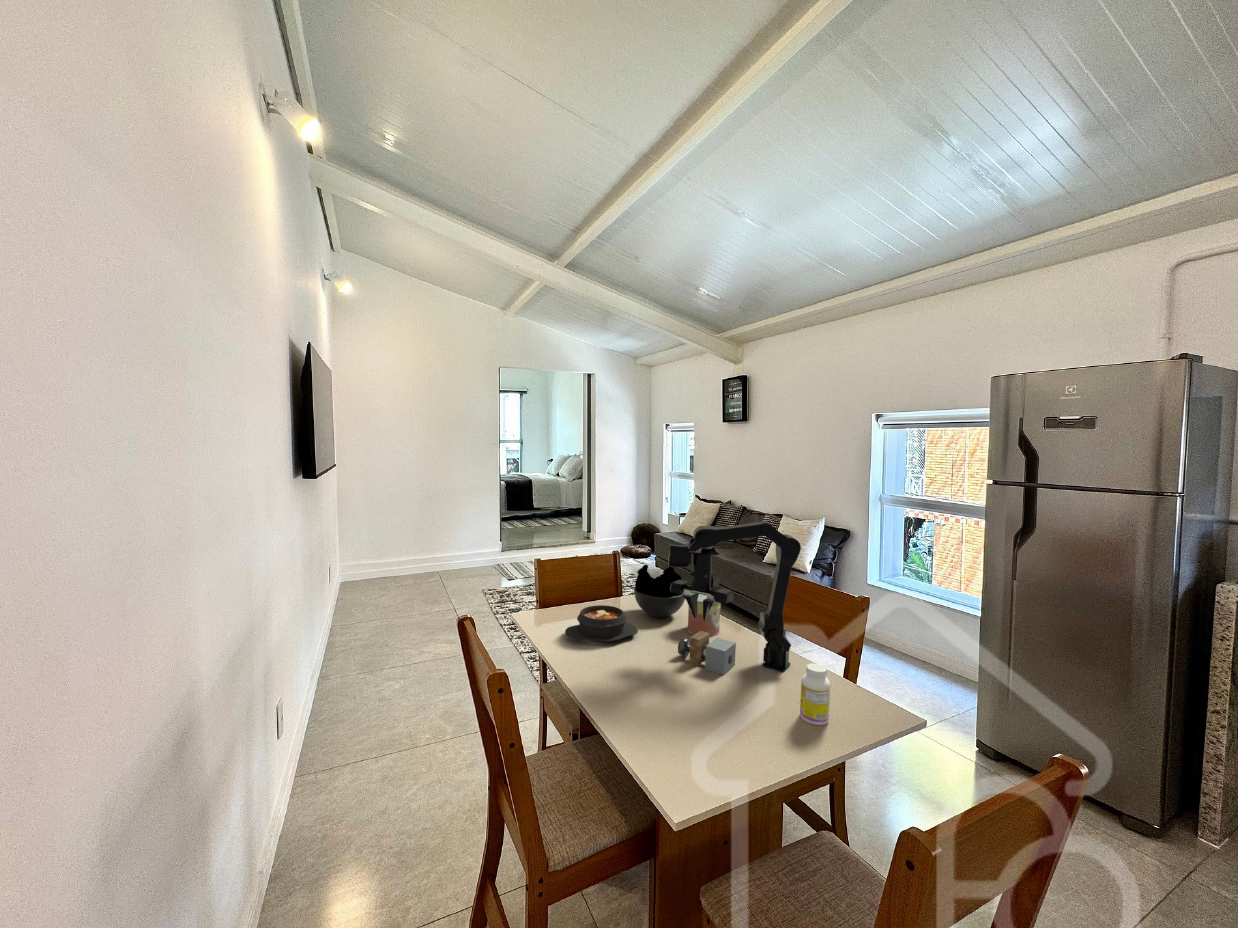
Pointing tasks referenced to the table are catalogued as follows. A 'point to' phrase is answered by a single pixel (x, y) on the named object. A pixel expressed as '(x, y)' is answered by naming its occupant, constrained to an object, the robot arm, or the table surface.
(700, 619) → the canned food
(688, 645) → the shaft
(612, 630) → the casserole
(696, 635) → the block
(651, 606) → the bowl of black rocks
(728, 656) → the block
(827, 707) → the supplement bottle
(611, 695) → the table surface
